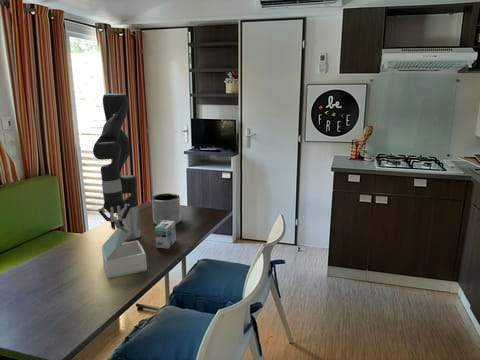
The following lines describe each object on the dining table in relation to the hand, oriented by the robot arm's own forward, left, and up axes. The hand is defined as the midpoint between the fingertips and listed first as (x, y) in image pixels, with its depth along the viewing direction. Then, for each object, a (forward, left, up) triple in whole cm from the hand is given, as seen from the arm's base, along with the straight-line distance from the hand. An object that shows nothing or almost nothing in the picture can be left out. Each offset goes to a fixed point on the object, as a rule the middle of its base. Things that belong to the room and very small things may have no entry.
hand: (117, 228), depth 155 cm
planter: (-47, +34, -19) cm, 61 cm away
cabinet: (0, +2, -18) cm, 18 cm away
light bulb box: (-16, +25, -19) cm, 35 cm away
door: (0, -1, -5) cm, 5 cm away
